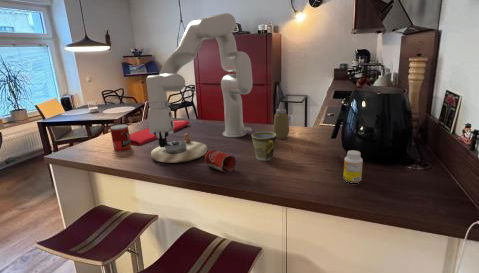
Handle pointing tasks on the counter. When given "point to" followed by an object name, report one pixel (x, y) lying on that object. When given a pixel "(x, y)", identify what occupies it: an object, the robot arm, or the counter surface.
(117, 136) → the canned food
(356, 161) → the supplement bottle
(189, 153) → the platter
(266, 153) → the ceramic cup
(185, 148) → the cover
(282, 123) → the squeeze bottle
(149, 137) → the dish drying mat
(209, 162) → the beverage can
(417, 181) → the counter surface
